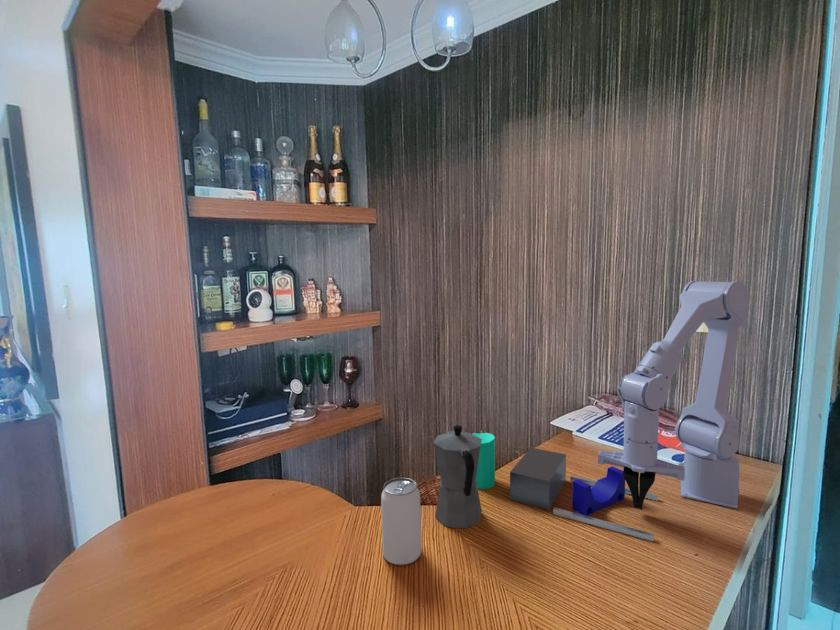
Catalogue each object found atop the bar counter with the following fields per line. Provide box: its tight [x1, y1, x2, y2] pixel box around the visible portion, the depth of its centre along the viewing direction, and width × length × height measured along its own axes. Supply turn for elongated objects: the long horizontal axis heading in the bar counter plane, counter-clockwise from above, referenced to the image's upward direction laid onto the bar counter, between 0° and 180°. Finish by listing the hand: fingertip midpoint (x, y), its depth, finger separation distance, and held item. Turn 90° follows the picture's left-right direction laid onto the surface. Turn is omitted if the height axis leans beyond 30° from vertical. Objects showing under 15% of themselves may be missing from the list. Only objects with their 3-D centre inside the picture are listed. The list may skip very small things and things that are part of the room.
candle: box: [472, 430, 496, 490], centre depth 95 cm, size 6×6×12 cm
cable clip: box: [571, 465, 626, 516], centre depth 86 cm, size 12×4×6 cm, turn 120°
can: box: [380, 477, 422, 566], centre depth 71 cm, size 6×6×12 cm
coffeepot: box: [433, 424, 483, 530], centre depth 81 cm, size 15×9×18 cm, turn 10°
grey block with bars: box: [509, 447, 659, 543], centre depth 87 cm, size 28×16×6 cm, turn 59°
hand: (638, 506), depth 82 cm, fingers closed
